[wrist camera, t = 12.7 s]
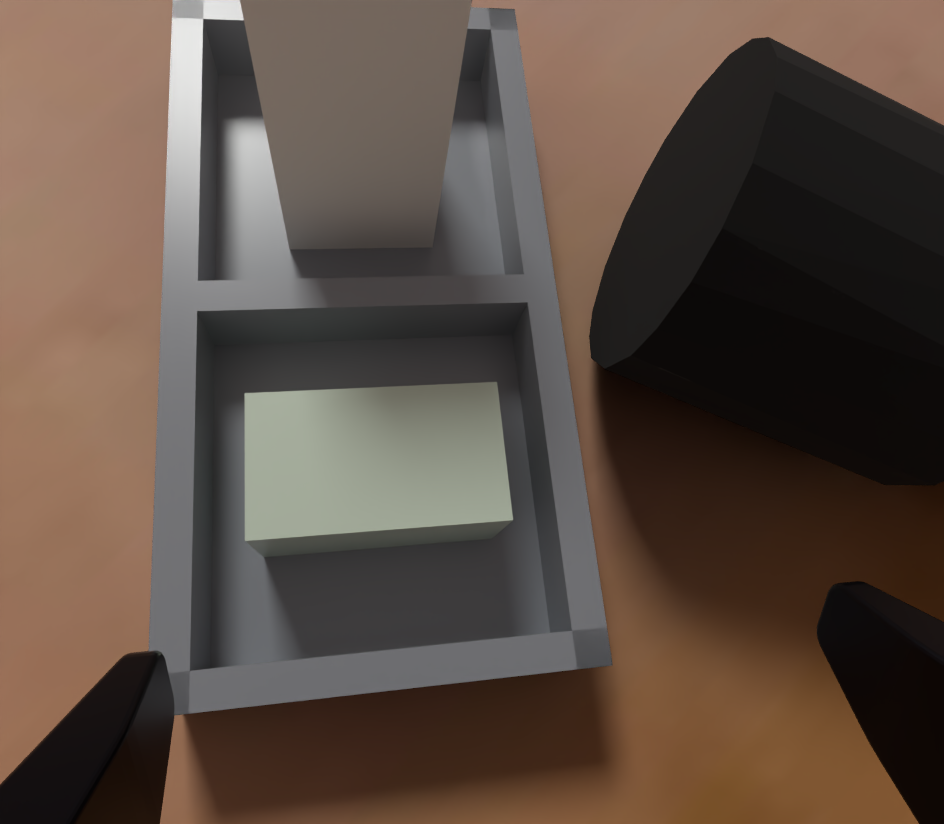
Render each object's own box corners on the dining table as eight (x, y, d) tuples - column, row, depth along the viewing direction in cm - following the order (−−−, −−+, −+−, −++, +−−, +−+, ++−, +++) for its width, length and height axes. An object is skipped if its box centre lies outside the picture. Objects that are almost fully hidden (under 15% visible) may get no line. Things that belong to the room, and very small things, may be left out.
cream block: (432, 247, 25) (483, -72, 14) (289, 249, 25) (222, -87, 13) (421, 131, 27) (459, -240, 16) (286, 130, 26) (224, -263, 15)
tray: (576, 662, 23) (625, 666, 18) (181, 707, 21) (133, 722, 16) (498, 80, 29) (519, -15, 25) (196, 72, 28) (165, -32, 23)
